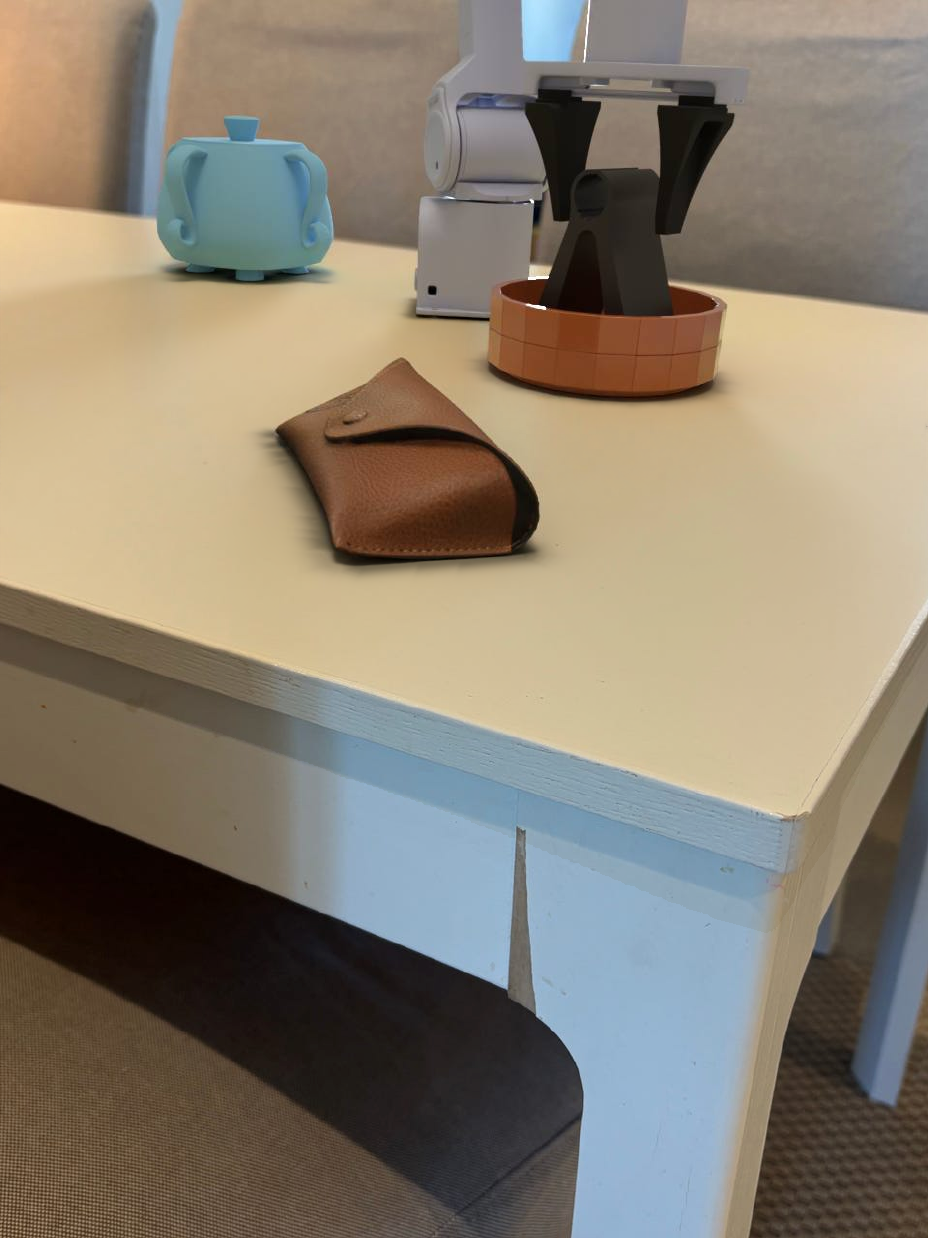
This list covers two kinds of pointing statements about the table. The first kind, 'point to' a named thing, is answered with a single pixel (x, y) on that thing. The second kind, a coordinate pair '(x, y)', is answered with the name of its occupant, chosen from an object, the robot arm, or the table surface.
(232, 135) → the decorative pot
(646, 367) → the bowl
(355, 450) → the sunglasses case
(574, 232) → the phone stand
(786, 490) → the table surface
